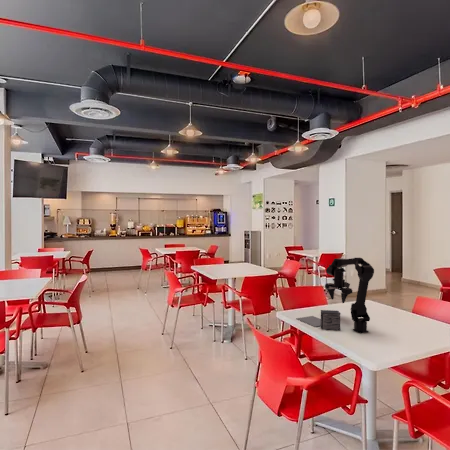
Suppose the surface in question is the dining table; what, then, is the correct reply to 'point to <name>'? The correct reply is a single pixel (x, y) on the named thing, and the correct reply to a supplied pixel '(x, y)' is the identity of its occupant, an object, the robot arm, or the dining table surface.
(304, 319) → the mat
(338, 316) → the small box
